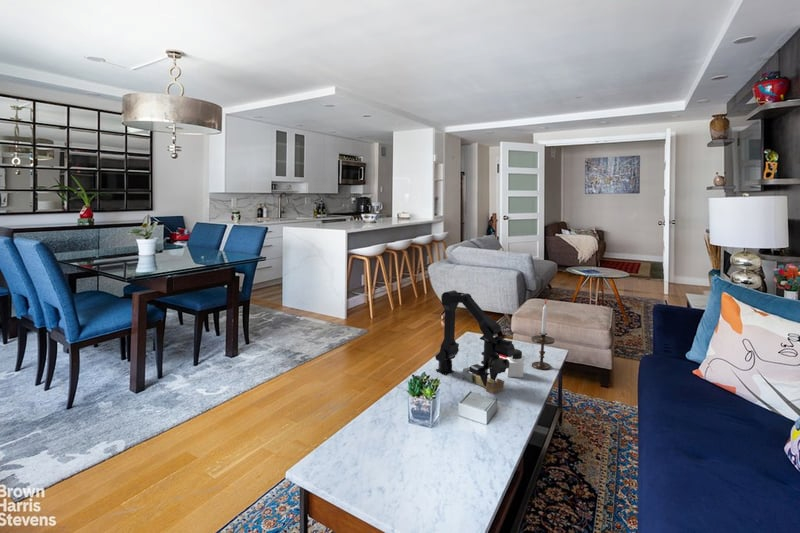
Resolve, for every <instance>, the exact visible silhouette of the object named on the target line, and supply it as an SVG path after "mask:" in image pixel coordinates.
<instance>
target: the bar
mask: <svg viewBox="0 0 800 533" xmlns="http://www.w3.org/2000/svg"><path fill="white" fill-rule="evenodd" d="M487 382H490V383H492V384H494V383H497V381H496V379H495V380H493V379H491V378H490V377H489V376H487ZM473 383H475V384H477V385H479V386H480V387H483V388H484V389H486V386H484V384H483V382H482V380H481V377H480V376H478V375H476V374H473Z"/></svg>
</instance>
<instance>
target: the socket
mask: <svg viewBox="0 0 800 533" xmlns="http://www.w3.org/2000/svg"><path fill="white" fill-rule="evenodd" d="M495 381H497V383H494V384H492V383H490V382H487V383H486V388H485V392H487V393H489V394H491V395H493V394H497V393H500V392H503V391H504V390H505V389H504V388H505V381H504V380H502V379H500V378H496V379H495Z"/></svg>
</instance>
